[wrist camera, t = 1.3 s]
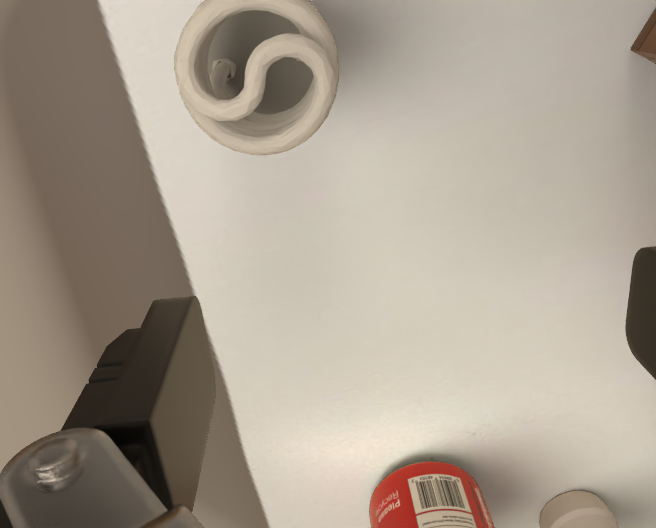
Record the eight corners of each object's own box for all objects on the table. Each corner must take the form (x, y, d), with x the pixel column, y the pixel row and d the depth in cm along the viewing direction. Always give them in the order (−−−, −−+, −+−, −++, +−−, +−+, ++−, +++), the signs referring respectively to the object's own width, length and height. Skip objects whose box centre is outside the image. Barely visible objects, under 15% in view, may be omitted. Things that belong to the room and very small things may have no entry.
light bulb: (301, -35, 28) (306, -52, 17) (342, 81, 30) (370, 133, 19) (191, 11, 29) (127, 25, 18) (240, 122, 31) (209, 194, 20)
